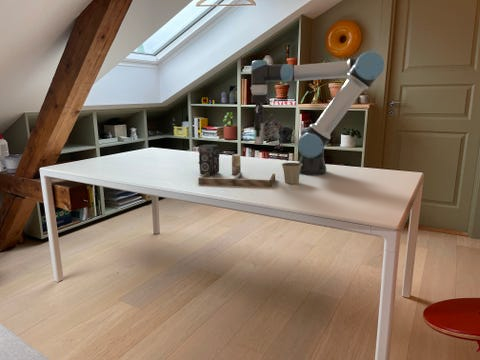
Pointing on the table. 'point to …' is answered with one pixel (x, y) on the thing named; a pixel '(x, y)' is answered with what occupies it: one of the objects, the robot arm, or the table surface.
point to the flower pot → (291, 172)
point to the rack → (235, 181)
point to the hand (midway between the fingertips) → (258, 142)
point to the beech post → (236, 164)
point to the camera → (209, 159)
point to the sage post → (261, 134)
